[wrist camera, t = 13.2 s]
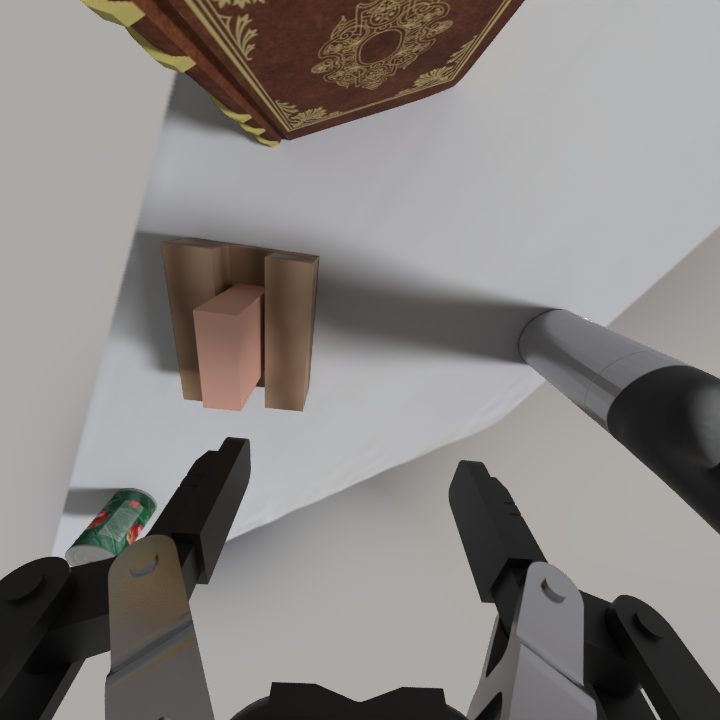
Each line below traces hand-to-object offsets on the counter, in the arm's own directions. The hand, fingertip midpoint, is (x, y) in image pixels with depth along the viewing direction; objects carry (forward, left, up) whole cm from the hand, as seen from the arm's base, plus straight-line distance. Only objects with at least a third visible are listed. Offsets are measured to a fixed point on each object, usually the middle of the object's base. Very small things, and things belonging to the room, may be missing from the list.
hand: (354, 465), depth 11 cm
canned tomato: (+37, +48, -32) cm, 69 cm away
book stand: (+13, +7, -32) cm, 35 cm away
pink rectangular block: (+13, +7, -30) cm, 34 cm away
